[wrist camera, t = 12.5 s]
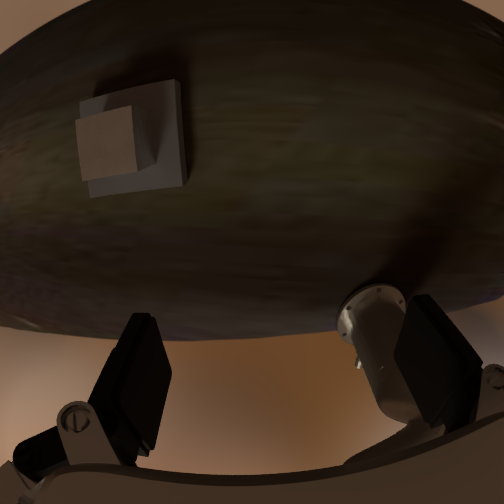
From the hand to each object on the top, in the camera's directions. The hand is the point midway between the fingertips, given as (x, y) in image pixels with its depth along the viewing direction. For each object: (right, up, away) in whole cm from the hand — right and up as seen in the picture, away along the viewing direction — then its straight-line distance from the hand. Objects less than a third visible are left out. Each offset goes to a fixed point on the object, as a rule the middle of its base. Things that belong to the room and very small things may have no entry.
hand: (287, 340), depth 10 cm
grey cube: (-16, +16, +20) cm, 31 cm away
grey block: (-16, +18, +23) cm, 33 cm away
